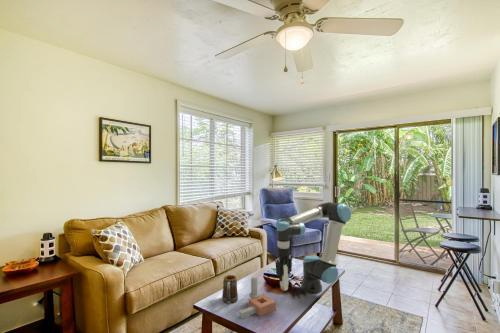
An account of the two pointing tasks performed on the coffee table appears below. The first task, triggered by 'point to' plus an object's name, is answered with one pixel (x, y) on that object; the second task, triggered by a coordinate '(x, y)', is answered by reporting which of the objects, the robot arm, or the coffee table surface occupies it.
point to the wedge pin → (285, 277)
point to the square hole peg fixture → (257, 302)
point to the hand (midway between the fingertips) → (284, 284)
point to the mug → (230, 289)
